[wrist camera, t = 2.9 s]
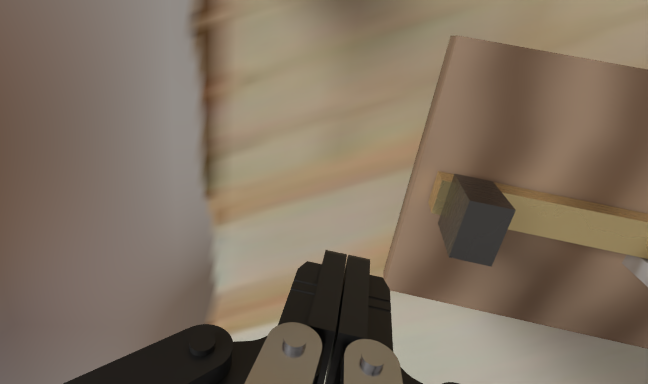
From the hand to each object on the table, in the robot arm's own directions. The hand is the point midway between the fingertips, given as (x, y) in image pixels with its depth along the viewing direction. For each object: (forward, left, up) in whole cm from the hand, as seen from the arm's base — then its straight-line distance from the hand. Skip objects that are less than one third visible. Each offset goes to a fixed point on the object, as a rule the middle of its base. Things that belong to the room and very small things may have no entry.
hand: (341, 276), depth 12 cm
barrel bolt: (0, +12, -10) cm, 16 cm away
